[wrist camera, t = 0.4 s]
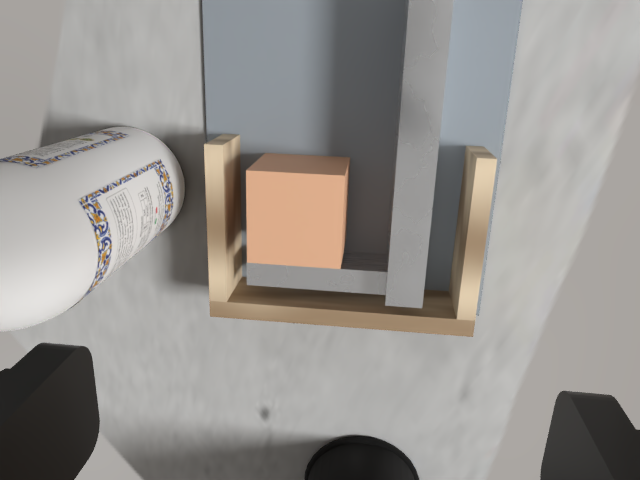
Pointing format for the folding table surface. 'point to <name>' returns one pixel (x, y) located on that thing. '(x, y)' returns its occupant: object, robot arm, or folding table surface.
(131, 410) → the folding table surface
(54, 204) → the bath foam
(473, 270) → the stall
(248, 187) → the block
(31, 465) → the robot arm
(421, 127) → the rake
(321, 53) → the mat
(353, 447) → the aerosol can
